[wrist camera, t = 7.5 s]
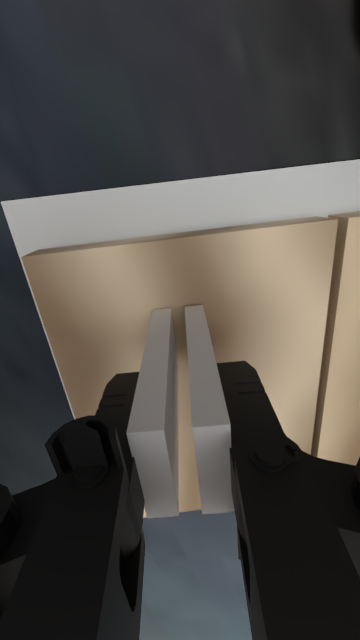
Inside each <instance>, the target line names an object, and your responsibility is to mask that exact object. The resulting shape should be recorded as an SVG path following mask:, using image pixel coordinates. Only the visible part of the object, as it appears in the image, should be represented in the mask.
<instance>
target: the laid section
mask: <svg viewBox="0 0 360 640" xmlns="http://www.w3.org/2000/svg"><path fill="white" fill-rule="evenodd" d="M328 218H334V219H338V225H337V233H336V242H335V250H334V259H333V267H332V276H331V285H330V293H329V302H328V310H327V319H326V327H325V336H324V344H323V353H322V361H321V370H320V379H319V387H318V396H317V404H316V413H315V421H314V430H313V438H312V447H311V455H312V456H314V457H318V458H321V459H325V460H329V461H334V462H340V463H345V464H350V465H355V466H356V464H357V462H358V460H359V457H360V211H359V212H350V213H341V214H332V215H328Z"/></svg>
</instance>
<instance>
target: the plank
mask: <svg viewBox="0 0 360 640" xmlns="http://www.w3.org/2000/svg"><path fill="white" fill-rule="evenodd" d="M337 225H338V219H334V218H326V217H318V216H315V217H306V218H298V219H290V220H281V221H273V222H264V223H256V224H248V225H239V226H231V227H223V228H214V229H206V230H198V231H189V232H181V233H172V234H164V235H156V236H147V237H139V238H131V239H122V240H114V241H106V242H97V243H89V244H80V245H72V246H64V247H55V248H47V249H39V250H36V251H34V252H31V253H29V254H27V255H25V256H22V257H21V258H22V261H23V264H24V267H25V270H26V273H27V276H28V279H29V282H30V285H31V288H32V291H33V294H34V297H35V300H36V303H37V306H38V309H39V312H40V315H41V318H42V321H43V324H44V327H45V330H46V333H47V336H48V339H49V341H50V344H51V347H52V350H53V353H54V356H55V359H56V362H57V365H58V368H59V371H60V374H61V377H62V380H63V383H64V386H65V389H66V392H67V395H68V398H69V401H70V404H71V407H72V410H73V413H74V416H75V419H76V418H81V417H85V416H89V415H93V416H95V414H96V411H97V409H98V406H99V403H100V400H101V399H102V395H103V392H104V390H105V387H106V384H107V383H108V382H109V381H110V380H111V379H112V378H113V377H114V376H115V375H116V374H119V373H130V372H140V367H141V362H142V358H143V353H144V349H145V344H146V339H147V335H148V330H149V325H150V321H151V316H152V311H153V310H156V309H166V308H171V312H172V319H173V327H174V335H175V343H176V350H177V358H178V440H179V512H186V511H193V510H200V509H202V507H201V499H200V490H199V482H198V473H197V465H196V456H195V448H194V439H193V431H192V417H191V401H190V385H189V369H188V353H187V337H186V321H185V307H186V306H196V305H203V307H204V311H205V316H206V320H207V324H208V329H209V333H210V337H211V342H212V346H213V350H214V355H215V359H216V363H224V362H235V361H246V362H247V363H249V364H250V365H251V366H252V367H254V368H255V369H256V371H257V373H258V375H259V378H260V380H261V383H262V384H263V387H264V389H265V393H267V395H268V398H269V400H270V402H271V404H272V407H273V409H274V411H275V413H276V416H277V418H278V420H279V422H280V425H281V427H282V429H283V431H284V433H285V434H286V436H287V437H288V438H290V439H291V440H292V441H294V442H295V443H296V444H297V445H298V446H299V447H300V449H301V450H302V451H304V452H306V453H308V454H310V455H311V447H312V438H313V430H314V421H315V413H316V404H317V396H318V387H319V379H320V370H321V361H322V353H323V344H324V336H325V327H326V319H327V310H328V302H329V293H330V285H331V276H332V267H333V259H334V250H335V242H336V233H337ZM143 517H147V515H146V511H145V507H144V514H143Z"/></svg>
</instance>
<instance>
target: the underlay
mask: <svg viewBox="0 0 360 640" xmlns="http://www.w3.org/2000/svg"><path fill="white" fill-rule="evenodd" d="M1 205H2V208H3V211H4V214H5V216H6V219H7V222H8V225H9V228H10V231H11V234H12V237H13V240H14V243H15V246H16V249H17V252H18V255H19V258H20V261H21V264H22V267H23V270H24V272H25V275H26V278H27V281H28V284H29V287H30V290H31V293H32V296H33V299H34V302H35V305H36V308H37V311H38V314H39V317H40V320H41V323H42V326H43V328H44V331H45V334H46V337H47V340H48V343H49V346H50V349H51V352H52V355H53V358H54V361H55V364H56V367H57V370H58V373H59V376H60V379H61V382H62V384H63V387H64V390H65V393H66V396H67V399H68V402H69V405H70V408H71V411H72V414H73V417H74V419H75V416H74V413H73V410H72V407H71V404H70V401H69V398H68V395H67V392H66V389H65V386H64V383H63V380H62V377H61V374H60V371H59V368H58V365H57V362H56V359H55V356H54V353H53V350H52V347H51V344H50V341H49V339H48V336H47V333H46V330H45V327H44V324H43V321H42V318H41V315H40V312H39V309H38V306H37V303H36V300H35V297H34V294H33V291H32V288H31V285H30V282H29V279H28V276H27V273H26V270H25V267H24V264H23V261H22V258H21V257H22V256H25V255H27V254H29V253H31V252H34V251H36V250H39V249H47V248H55V247H64V246H72V245H80V244H89V243H97V242H106V241H114V240H122V239H131V238H139V237H147V236H156V235H164V234H172V233H181V232H189V231H198V230H206V229H214V228H223V227H231V226H239V225H248V224H256V223H264V222H273V221H281V220H290V219H298V218H306V217H315V216H318V217H326V218H328V215H332V214H341V213H350V212H359V211H360V159H357V160H349V161H340V162H332V163H323V164H315V165H307V166H298V167H290V168H281V169H273V170H264V171H256V172H247V173H239V174H230V175H222V176H213V177H205V178H197V179H188V180H180V181H171V182H163V183H154V184H146V185H137V186H129V187H120V188H112V189H103V190H95V191H86V192H78V193H70V194H61V195H53V196H44V197H36V198H27V199H19V200H10V201H2V202H1Z"/></svg>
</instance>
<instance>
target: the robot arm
mask: <svg viewBox="0 0 360 640" xmlns="http://www.w3.org/2000/svg"><path fill="white" fill-rule="evenodd" d="M185 321H186V337H187V353H188V369H189V385H190V401H191V417H192V431H193V439H194V448H195V456H196V465H197V473H198V482H199V490H200V499H201V507H202V514H211V513H225V512H234V509H235V515H236V520H237V532H238V558H239V559H241V565H242V572H243V578H244V585H245V592H246V599H247V606H248V613H249V619H250V626H251V633H252V640H360V457H359V460H358V462H357V464H356V466H355V465H350V464H345V463H340V462H334V461H329V460H325V459H321V458H318V457H314V456H312V455H310V454H308V453H306V452H304V451H302V450H301V449H300V447H299V446H298V445H297V444H296V443H295V442H294V441H292V440H291V439H290V438H288V437H287V436H286V434H285V433H284V431H283V429H282V427H281V425H280V422H279V420H278V418H277V416H276V413H275V411H274V409H273V407H272V404H271V402H270V400H269V398H268V395H267V393H265V389H264V387H263V384H262V383H261V380H260V378H259V375H258V373H257V371H256V369H255V368H254V367H252V366H251V365H250V364H249V363H247V362H246V361H235V362H224V363H216V359H215V355H214V350H213V346H212V342H211V337H210V333H209V329H208V324H207V320H206V316H205V311H204V307H203V305H196V306H186V307H185ZM45 447H46V449H47V451H48V454H49V456H50V459H51V461H52V464H53V466H54V468H55V471H56V473H57V477H56V478H55V479H53V480H51V481H49V482H47V483H45V484H42V485H39V486H37V487H34V488H31V489H29V490H26V491H23V492H21V493H18V494H15V495H11V493H10V492H9V490H8V488H7V487H6V486H4V485H1V484H0V640H139V633H140V617H141V602H142V587H143V571H144V556H145V541H144V533H143V530H142V523H143V514H144V507H145V511H146V515H147V518H158V517H171V516H179V440H178V358H177V350H176V343H175V335H174V327H173V319H172V312H171V308H166V309H156V310H153V311H152V316H151V321H150V325H149V330H148V335H147V339H146V344H145V349H144V353H143V358H142V362H141V367H140V372H130V373H119V374H116V375H115V376H114V377H113V378H112V379H111V380H110V381H109V382H108V383H107V384H106V387H105V390H104V392H103V395H102V399H101V400H100V403H99V406H98V409H97V411H96V414H95V416H93V415H89V416H85V417H81V418H76V419H74V420H72V421H70V422H68V423H66V424H64V425H63V426H62V427H60V428H59V429H58V430H57V431H56V432H54V433H53V434H52V435H51V437H50V438H49V440H48V441H47V442H46V444H45Z"/></svg>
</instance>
